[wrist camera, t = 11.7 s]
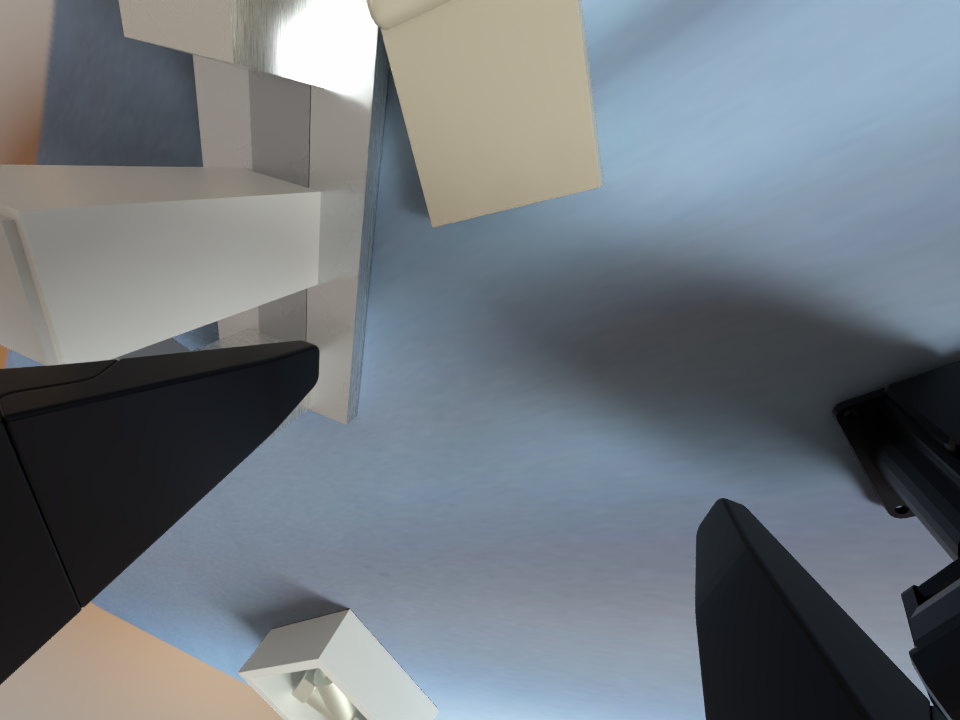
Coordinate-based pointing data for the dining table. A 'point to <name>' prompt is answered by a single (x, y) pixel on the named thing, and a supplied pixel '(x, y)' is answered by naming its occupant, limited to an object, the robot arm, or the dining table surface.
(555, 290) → the dining table surface
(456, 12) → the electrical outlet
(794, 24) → the dining table surface
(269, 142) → the rail plate
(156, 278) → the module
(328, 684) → the pipe fitting
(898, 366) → the dining table surface
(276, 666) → the parts tray
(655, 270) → the dining table surface
